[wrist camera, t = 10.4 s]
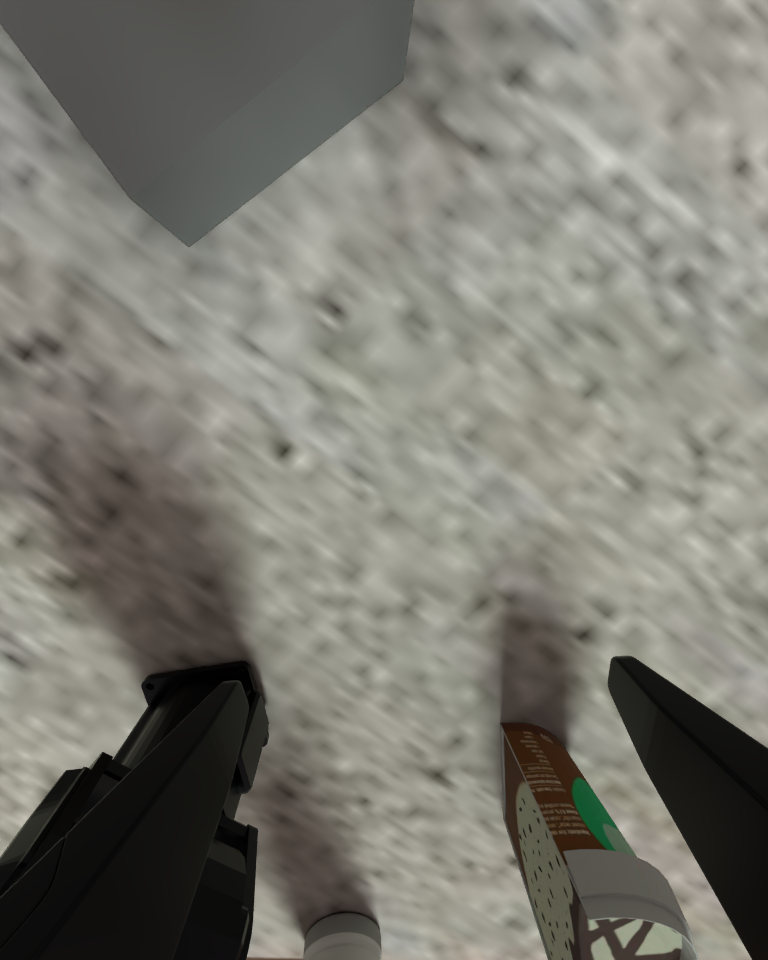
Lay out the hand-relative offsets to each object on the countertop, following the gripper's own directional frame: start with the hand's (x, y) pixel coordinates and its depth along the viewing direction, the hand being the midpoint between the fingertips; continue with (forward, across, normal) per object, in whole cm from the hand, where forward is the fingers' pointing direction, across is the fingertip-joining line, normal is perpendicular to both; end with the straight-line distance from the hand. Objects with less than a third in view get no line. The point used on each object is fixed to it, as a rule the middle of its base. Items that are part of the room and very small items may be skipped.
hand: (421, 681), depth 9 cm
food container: (+11, -8, +23) cm, 27 cm away
